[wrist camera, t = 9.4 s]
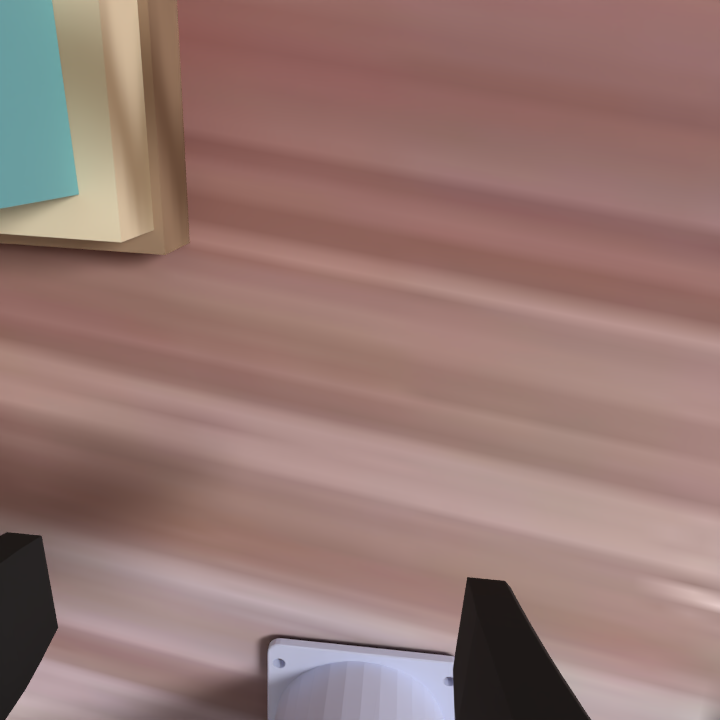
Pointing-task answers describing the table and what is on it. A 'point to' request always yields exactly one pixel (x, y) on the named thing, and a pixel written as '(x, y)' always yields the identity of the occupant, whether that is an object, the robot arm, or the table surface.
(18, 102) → the teal block
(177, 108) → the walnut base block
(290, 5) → the table surface
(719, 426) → the table surface
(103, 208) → the maple top block
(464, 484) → the table surface
